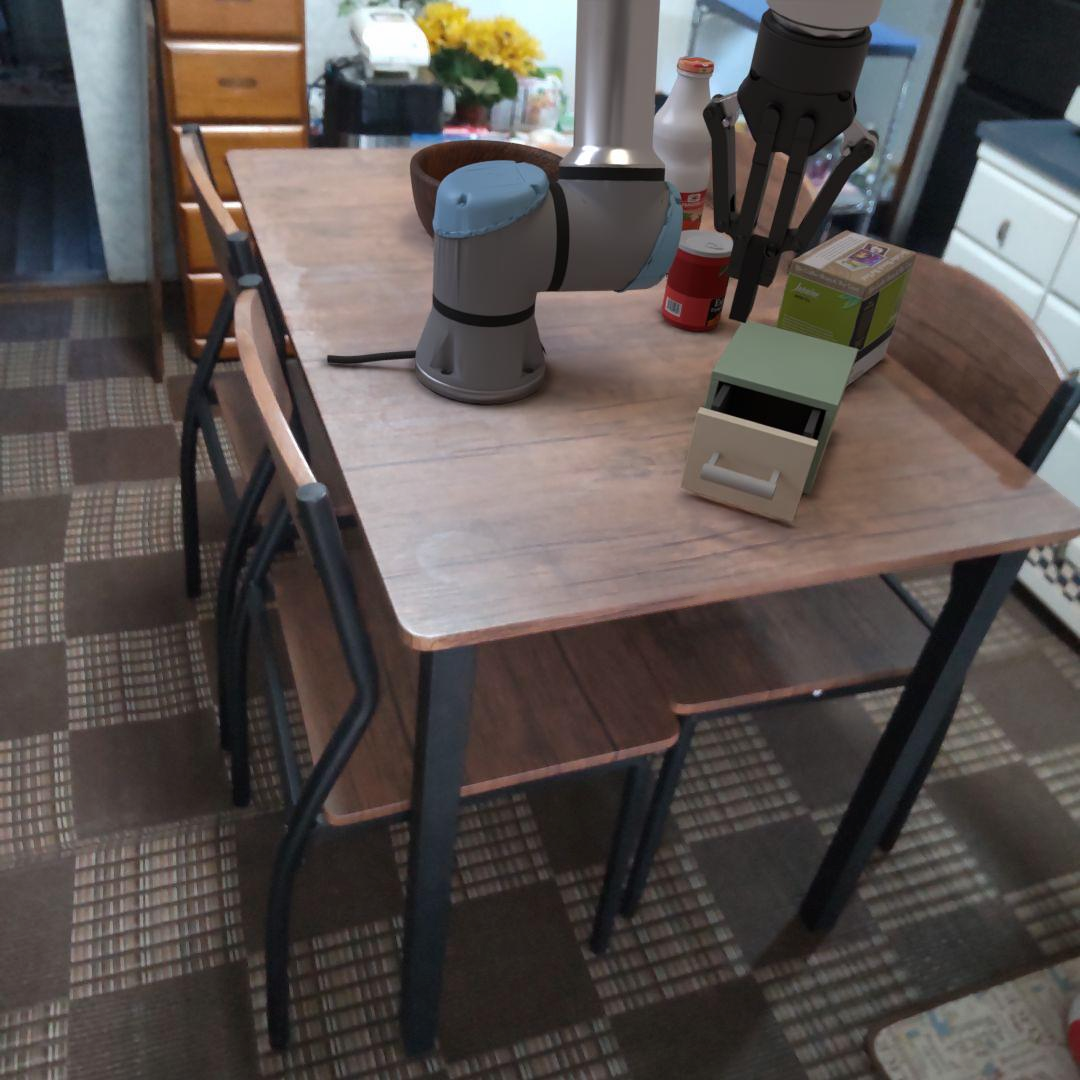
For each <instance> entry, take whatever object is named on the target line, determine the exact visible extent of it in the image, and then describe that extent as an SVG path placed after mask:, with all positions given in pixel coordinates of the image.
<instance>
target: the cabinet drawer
mask: <svg viewBox="0 0 1080 1080" xmlns="http://www.w3.org/2000/svg"><path fill="white" fill-rule="evenodd" d="M822 412H823V409H820V408H816V407H813V406H809V405H805V404H802V403H798V402H794V401H791V400H787V399H784V398H780V397H776V396H773V395H769V394H766V393H762V392H758V391H755V390H751V389H748V388H744V387H740V386H737V385H733V384H730V383H726V382H725V383H724V384H723V386H722V388H721V390H720V391H719V393H718V395H717V396H716V398H715V400H714V402H713V403H712V405H711V410H709V409H706V408H704V407H702V406H700V407H699V408H698V410H697V412H696V416H695V421H694V425H693V430H692V434H691V438H690V442H689V447H688V452H687V456H686V460H685V465H684V469H683V474H682V478H681V479H682V480H681V482H680V488H681V489H684V490H687V491H690V492H694V493H697V494H700V495H703V496H707V497H710V498H713V499H716V500H720V501H723V502H726V503H730V504H733V505H735V506H739V507H741V508H745V509H748V510H752V511H756V512H758V513H761V514H765V515H769V516H771V517H775V518H778V519H781V520H785V521H787V522H791V523H793V522H794V519H795V516H796V514H797V511H798V507H799V504H800V502H801V498H802V496H803V495H802V494H803V489H804V485H805V482H806V479H807V476H808V473H809V470H810V466H811V463H812V460H813V457H814V454H815V451H816V448H817V444H818V440H814V437H815V434H816V431H817V428H818V424H819V421H820V418H821V415H822Z"/></svg>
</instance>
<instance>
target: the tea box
mask: <svg viewBox="0 0 1080 1080" xmlns="http://www.w3.org/2000/svg"><path fill="white" fill-rule="evenodd" d="M917 254H918V252H916V251H913V250H910V249H908V248H904V247H900V246H897V245H894V244H891V243H888V242H885V241H881V240H879V239H876V238H875V239H874V238H872V237H869V236H865V235H864V234H863V235H862V234H859V233H857V232H854V231H850V230H849V229H846V230H844V231H842V232H839V234H836V235H834V236H833V237H831V238H829V239H828V240H826V241H824V242H822V243H821V244H819V245H817V246H815V247H813V248H812V249H810V250H808V251H806V252H803V253H801V255H799V256H798V257H796V258H795V257H794V258H793V259H792V261H791V263H790V266H789V270H788V276H787V278H786V283H785V287H784V292H783V295H782V299H781V302H780V307H779V313H778V317H777V319H776V324H775V328H779V329H783V330H787V331H791V332H795V333H798V334H802V335H806V336H810V337H814V338H818V339H821V340H825V341H829V342H833V343H837V344H841V345H845V346H848V347H852V348H856V349H858V352H857V355H856V358H855V361H854V364H853V367H852V371H851V374H850V377H849V380H848V383H847V386H846V387H848V386H849V385H850V384H851V383H853V382H854V381H855V380H857V379H858V378H859V377H861V376H863V374H865V373H866V372H867V371H869V370H870V369H871V368H873V367H874V366H875V365H877V364H878V363H879V362H881V361H882V360H883V359H884V358H885V357H886V354H887V351H888V347H889V345H890V342H891V339H892V334H893V331H894V328H895V326H896V322H897V319H898V316H899V312H900V309H901V306H902V303H903V301H904V296H905V294H906V290H907V287H908V283H909V280H910V277H911V274H912V271H913V268H914V264H915V261H916V257H917Z"/></svg>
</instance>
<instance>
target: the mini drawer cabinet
mask: <svg viewBox="0 0 1080 1080" xmlns="http://www.w3.org/2000/svg"><path fill="white" fill-rule="evenodd" d="M857 352H858V349H856V348H852V347H848V346H845V345H841V344H837V343H833V342H829V341H825V340H821V339H818V338H814V337H810V336H806V335H802V334H798V333H795V332H791V331H787V330H783V329H779V328H776V326H772V325H767V324H763V323H759V322H756V321H751V320H748V319H747V321H746V323H742V322H740V324H739V326H738V328H737V330H736V331H735V332H734V334H733V337H731V339H730V340H729V342H728V344H727V346H726V348H725V349H724V351H723V353H722V354H721V355H720V357H719V359H718V361H716V364H715V366H714V367H713V369H712V370H711V374H710V379H709V383H708V389H707V393H706V396H705V401H704V405H703V408H706V409H709V410H711V405H712V403H713V402H714V400H715V398H716V396H717V395H718V393H719V391H720V390H721V388H722V386H723V384H724V383H725V382H726V383H730V384H733V385H737V386H740V387H744V388H748V389H751V390H755V391H758V392H762V393H766V394H769V395H773V396H776V397H780V398H784V399H787V400H791V401H794V402H798V403H802V404H805V405H809V406H813V407H816V408H820V409H823V412H822V415H821V418H820V421H819V424H818V428H817V431H816V434H815V437H814V440H818V444H817V448H816V451H815V454H814V457H813V460H812V463H811V466H810V470H809V473H808V476H807V479H806V482H805V485H804V489H803V492H802V494H807V495H810V494H811V491H812V488H813V486H814V483H815V480H816V477H817V474H818V472H819V469H820V466H821V463H822V460H823V458H824V455H825V452H826V449H827V446H828V443H829V440H830V438H831V435H832V432H833V429H834V426H835V423H836V421H837V420H836V419H837V417H838V414H839V410H840V407H841V404H842V401H843V398H844V395H845V392H846V389H847V387H848V386H847V383H848V380H849V377H850V374H851V371H852V367H853V364H854V361H855V358H856V355H857Z"/></svg>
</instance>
